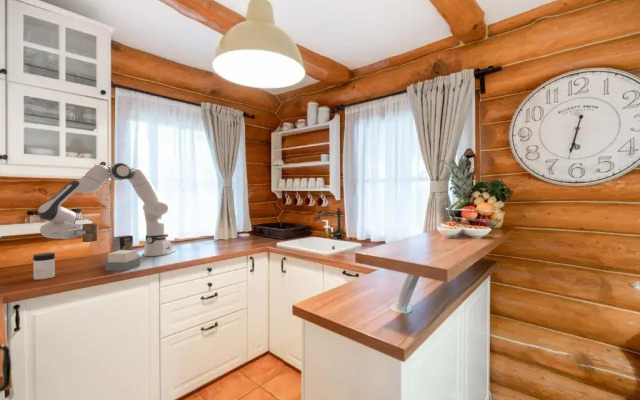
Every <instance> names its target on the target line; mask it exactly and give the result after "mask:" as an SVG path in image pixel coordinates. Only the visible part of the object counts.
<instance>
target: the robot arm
mask: <svg viewBox="0 0 640 400" xmlns="http://www.w3.org/2000/svg"><path fill="white" fill-rule="evenodd" d="M94 165H95V166H94ZM94 165H93V166H94V167H93V166H92V167H93V168H91V167H90V168H91V169H90V168H89V169H90V170H89V169H88V170H89V171H88V170H87V171H88V172H87V171H86V172H87V173H86V172H85V173H86V174H85V173H84V174H85V176H83V175H82V176H83V177H82V176H81V177H82V178H81V177H80V178H81V179H80V178H79V179H77V180H73V181H70V182H68V183H67V184H66V185H65V186H63V187H62V188H60V190H59V191H58V192H56V193H55V194H54V195H53V196H51V198H50V199H48V200H47V201H45V202H44V203H43V204H41V205H40V206H39V207H38V209H37V215H38V217H39V218H40V219H42V220H45V221H49V222H48V223H45V224H43V225H41V226H40V228H39V231H40V234H41V235H42V236H43V237H45V238H47V239H48V238H49V239H57V240H58V239H62V240H64V239H65V240H73V239H75V238H78V237H82V234H87V231H82V224H83V223H80V224H79V223H76V221H77V218H78V216H77V213H76V212H75V211H73V210H72V209H69V208H66V207H64V206H61V205H62V204H63V203H65V201H66V200H67V199H69V198H70V196H72V195H74V194H88V195H89V194H95V193H97V192H98V191H100V189H101V188H102V187H103V185H104V184H105V183H106V181H107V180H109V178H111V179H110V180H114V181H124V180H127V181H128V182H129V183H130V184H131V186H132V188H133V189H134V192H135V193H136V194H137V196H138V197H139V200H141V201H142V202H143V203H144V204H143V206H142V209H143V213H144V218H145V226H146V231H145V233H146V235H145V243H144V250H143V253H142V254H143V256H145V257H157V256H165V255H169V254H172V253H174V252H176V251H177V249H175V248H173V244H172V242H170V241H169V240H167V238H168V237H169V234H168V233H165V223H164V220H163V215H165V214H166V213H167V212H168V210H169V206H168V204H167V203H166V201H164V200H163V198H162V197H161V196H160V194H159V193H158V192H157V190H156V189H155V187H154V186H153V184H152V182H151V180H150V178H149V177H148V175H147V174H146V172H145V171H144V170H143V169H142V168H140V167H134V168H133V167H131V166H130V165H129V164H127V163H124V162H117V163H113V164H111V165H110V166H111V167H108V166H105V165H104V164H101V165H96V164H94ZM109 173H110V174H109ZM97 233H99V226H98V225H97Z"/></svg>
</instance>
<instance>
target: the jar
mask: <svg viewBox="0 0 640 400" xmlns="http://www.w3.org/2000/svg"><path fill="white" fill-rule="evenodd" d="M55 259H56V253H55V252H42V253H36V254H33V255H32V261H33V263H32V264H33V267H32V268H33V273H32V274H33V280H34V281H35V280H46V279H51V278H55V277H56V267H55V266H56V265H55V264H56V262H55V261H56V260H55Z"/></svg>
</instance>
